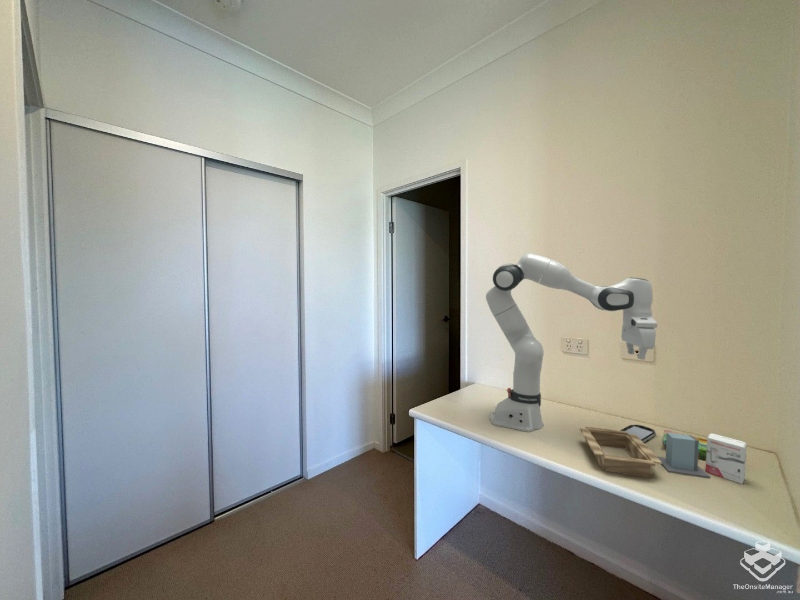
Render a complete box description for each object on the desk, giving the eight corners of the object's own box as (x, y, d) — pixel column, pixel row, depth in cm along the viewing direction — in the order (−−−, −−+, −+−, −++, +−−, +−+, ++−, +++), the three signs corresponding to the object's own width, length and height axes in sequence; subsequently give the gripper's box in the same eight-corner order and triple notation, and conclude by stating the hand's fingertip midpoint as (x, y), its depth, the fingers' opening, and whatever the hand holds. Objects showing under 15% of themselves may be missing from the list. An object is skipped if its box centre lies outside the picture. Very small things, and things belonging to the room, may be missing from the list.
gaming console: (633, 427, 138) (634, 421, 138) (659, 435, 130) (659, 429, 130) (612, 438, 127) (612, 432, 127) (638, 448, 120) (638, 441, 120)
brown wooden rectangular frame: (664, 483, 98) (665, 465, 98) (595, 472, 103) (596, 456, 103) (633, 446, 120) (633, 432, 120) (578, 439, 126) (578, 425, 126)
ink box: (704, 471, 104) (705, 436, 104) (707, 466, 107) (708, 432, 107) (743, 484, 97) (745, 447, 97) (745, 479, 100) (746, 442, 100)
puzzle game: (664, 427, 127) (736, 444, 113) (663, 439, 127) (736, 457, 114) (662, 437, 118) (741, 457, 105) (662, 450, 118) (740, 471, 105)
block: (671, 467, 105) (672, 437, 105) (665, 460, 109) (666, 432, 109) (697, 470, 103) (698, 440, 103) (690, 464, 107) (691, 435, 107)
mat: (668, 472, 104) (668, 470, 104) (655, 458, 112) (655, 456, 112) (710, 478, 100) (710, 476, 100) (693, 463, 109) (693, 461, 109)
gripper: (617, 317, 131) (616, 350, 132) (638, 322, 112) (637, 361, 112) (635, 318, 129) (634, 351, 130) (660, 323, 110) (658, 363, 110)
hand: (635, 356), depth 121 cm, fingers open, 8 cm apart
